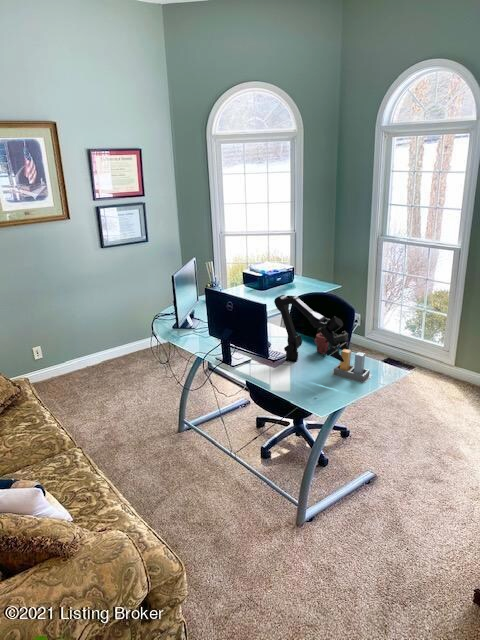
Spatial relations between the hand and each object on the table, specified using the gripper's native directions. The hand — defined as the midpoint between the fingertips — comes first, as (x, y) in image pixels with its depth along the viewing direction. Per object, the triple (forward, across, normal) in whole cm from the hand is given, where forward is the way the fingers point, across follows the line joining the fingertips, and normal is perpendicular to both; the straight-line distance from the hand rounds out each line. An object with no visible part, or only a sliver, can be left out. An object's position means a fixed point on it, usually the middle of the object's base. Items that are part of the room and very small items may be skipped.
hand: (346, 358), depth 257 cm
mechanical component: (-10, +19, +23) cm, 32 cm away
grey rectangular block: (+11, 0, +1) cm, 11 cm away
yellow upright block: (+6, 0, +6) cm, 9 cm away
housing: (+9, 0, +4) cm, 10 cm away
